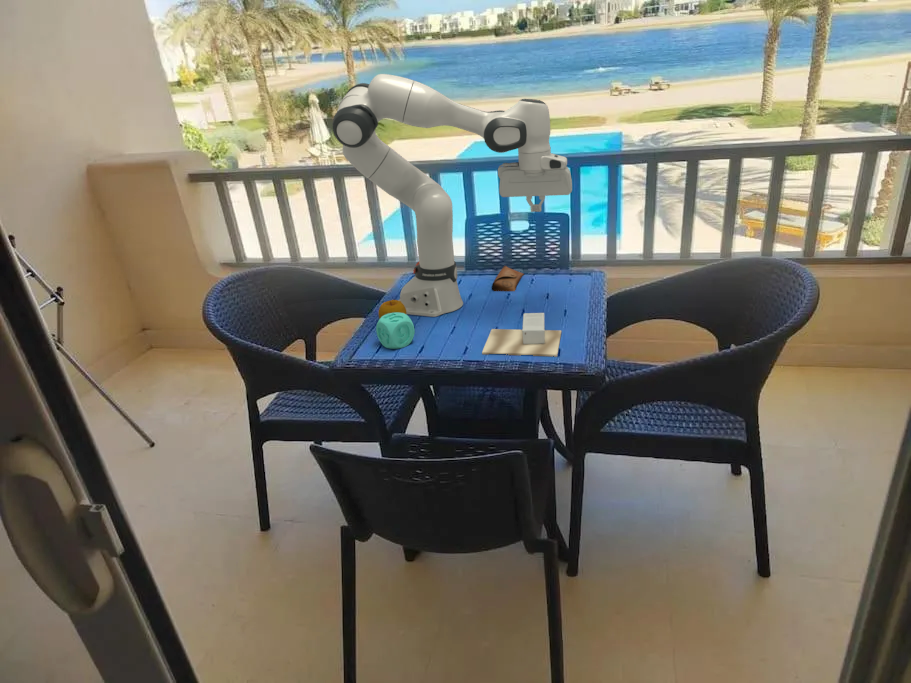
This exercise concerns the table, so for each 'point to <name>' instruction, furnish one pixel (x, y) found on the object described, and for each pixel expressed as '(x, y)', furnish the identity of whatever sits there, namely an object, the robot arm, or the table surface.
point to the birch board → (521, 343)
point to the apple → (391, 308)
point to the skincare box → (533, 328)
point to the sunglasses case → (507, 280)
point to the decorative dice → (395, 330)
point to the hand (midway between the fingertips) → (536, 211)
